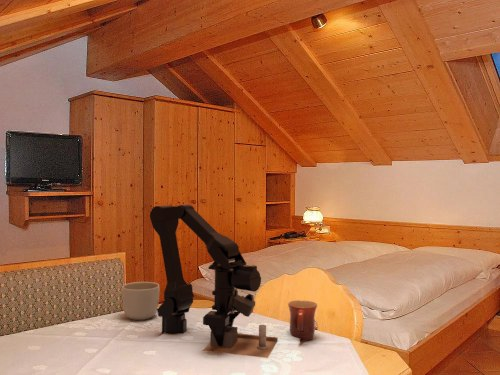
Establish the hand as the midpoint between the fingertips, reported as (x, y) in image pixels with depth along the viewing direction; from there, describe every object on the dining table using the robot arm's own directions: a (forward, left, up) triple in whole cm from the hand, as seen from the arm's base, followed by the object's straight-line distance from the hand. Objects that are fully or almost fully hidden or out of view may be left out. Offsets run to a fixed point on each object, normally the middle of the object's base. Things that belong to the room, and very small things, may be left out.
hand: (224, 342), depth 126 cm
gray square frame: (0, 0, 0) cm, 0 cm away
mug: (+20, +13, -2) cm, 24 cm away
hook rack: (+5, 0, -2) cm, 5 cm away
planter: (-36, +19, -2) cm, 41 cm away
